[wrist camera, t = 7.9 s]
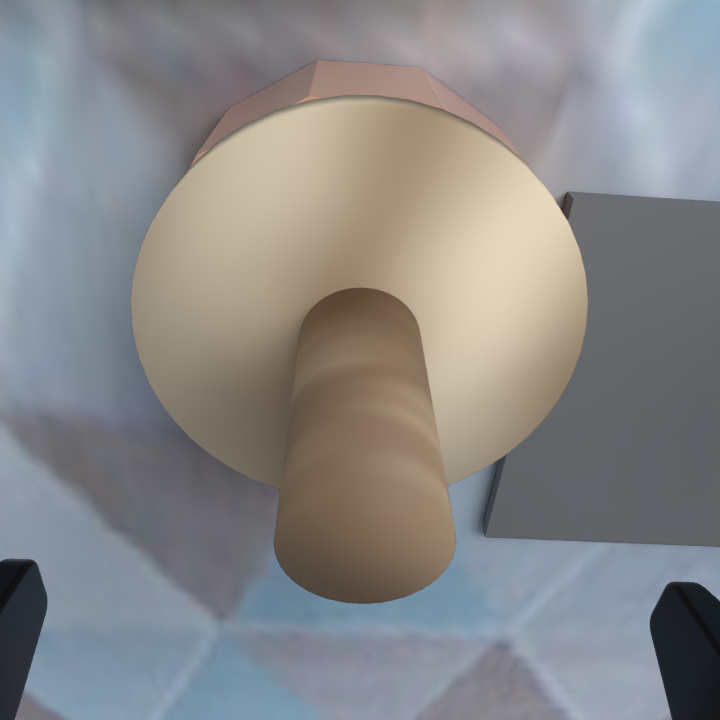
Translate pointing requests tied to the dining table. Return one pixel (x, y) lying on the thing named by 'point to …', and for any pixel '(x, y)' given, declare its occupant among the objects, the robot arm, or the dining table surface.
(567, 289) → the lid
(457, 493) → the dining table surface
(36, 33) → the dining table surface
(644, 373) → the mat
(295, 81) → the bowl
